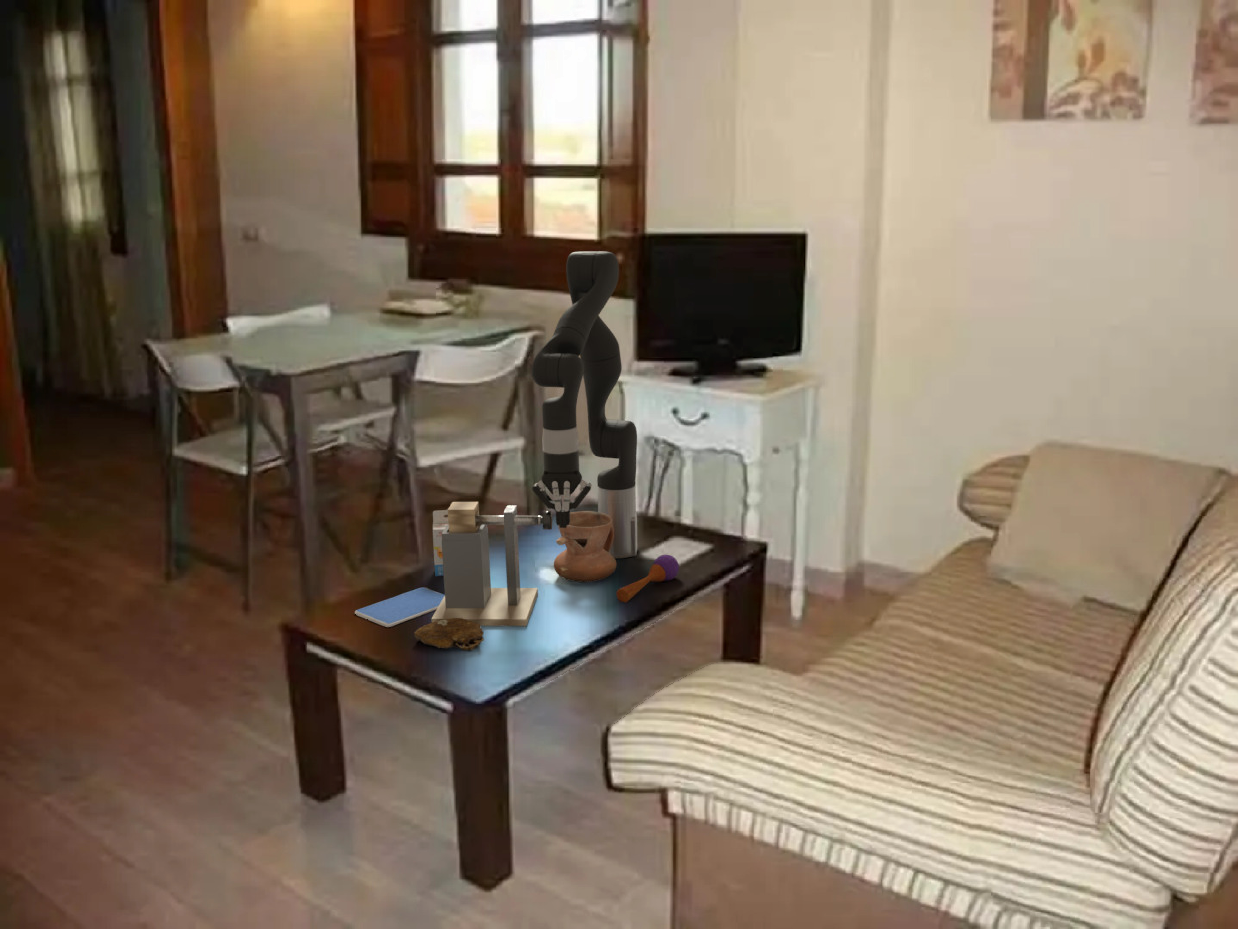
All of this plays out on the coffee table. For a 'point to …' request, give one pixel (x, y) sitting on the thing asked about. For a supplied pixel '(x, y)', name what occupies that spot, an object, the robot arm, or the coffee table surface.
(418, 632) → the decorative rock
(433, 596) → the tablet computer
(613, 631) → the coffee table surface
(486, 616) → the birch board
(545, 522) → the steel shaft
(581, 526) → the ceramic jug
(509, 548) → the shaft bracket
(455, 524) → the collar
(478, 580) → the pedestal
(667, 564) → the purple maraca
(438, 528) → the ink box
